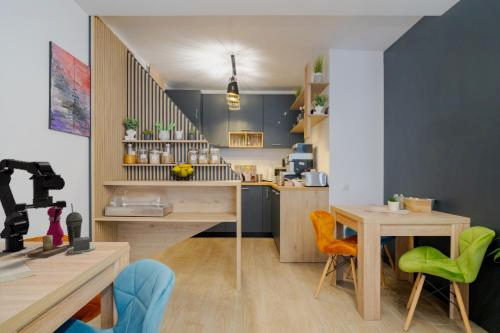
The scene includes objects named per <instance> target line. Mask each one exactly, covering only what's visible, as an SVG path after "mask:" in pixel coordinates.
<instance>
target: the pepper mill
mask: <svg viewBox="0 0 500 333" xmlns="http://www.w3.org/2000/svg"><path fill="white" fill-rule="evenodd" d="M55 208H56V207H48V209H47V212H46V214H47V216H48V221H49V226H48V229H47V232H46V235H45V236H47V235H53V247H59V246H61V245H64V244H63V243H64V240H63V237H64V236H65V232H64V230H63V228H62V227H61V226H62V225H61V219H62V216H61V215H62V214H63V210H60V212H59V214H58V216H57V219H56V222H55V224H54V214H55Z"/></svg>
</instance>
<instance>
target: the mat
mask: <svg viewBox="0 0 500 333" xmlns="http://www.w3.org/2000/svg"><path fill="white" fill-rule="evenodd" d="M96 248H97V247H96V245H91V244H90V249H87V250H80V251H74V247H70V248H69V249H67V253H69V254H83V253H82V252H84V253H89V252H91V251H94V250H95V249H96Z"/></svg>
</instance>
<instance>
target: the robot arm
mask: <svg viewBox="0 0 500 333" xmlns="http://www.w3.org/2000/svg"><path fill="white" fill-rule="evenodd" d="M15 170H22V171H25V172H27V173H29V174H31V176H30V177H29V178H28V180H30V181H32V203H30V204H27V202H21V203H16V200H15V197H14V195H13V192H12V189H11V186H10V184H11V181H12V175H14V173H15ZM65 186H66V181H65V180H64V178H63V177H62V176H61V174H57V173H56V171H55V170H54V169H53V167H52V165H51V163H50V162H49V161H25V160H20V159H15V158H4V159H1V160H0V204H1V207H2V209H3V213H4V215H5V219H4V223H3V226H4V228H3V229H2V230H1V232H0V239H3V240H5V243H4V244H5V246H4V247H5V249H2V250H1V252H3V253H4V252H7V253H14V252H17V251H18V252H19V251H22V250H24V249H27V246H24V245H25V243H24V242H25V241H24V240H25V239H24V236H27V235H28V232H29V229H30V219H29V213H28V210H29V209H35V210H37V209H47V208H51V207H56V208H55V214H54V224H55V222H56V219H57V216H58V214H59V212H60V210H62V211H63V210H64V208H67V201H66V200H56V201H55V202H54V199H53V198H54V196H53V195H50V191H60V190H61V191H62V189H64V188H65Z"/></svg>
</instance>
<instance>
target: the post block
mask: <svg viewBox="0 0 500 333" xmlns="http://www.w3.org/2000/svg"><path fill="white" fill-rule="evenodd" d="M63 252H68V247H67V246H53V235H47V236H46V235H43V236H42V248H38V249H36V250H32V251H29V252H27V257H34V258H50V257H53V256H55V255H58V254H62V253H63Z"/></svg>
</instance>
